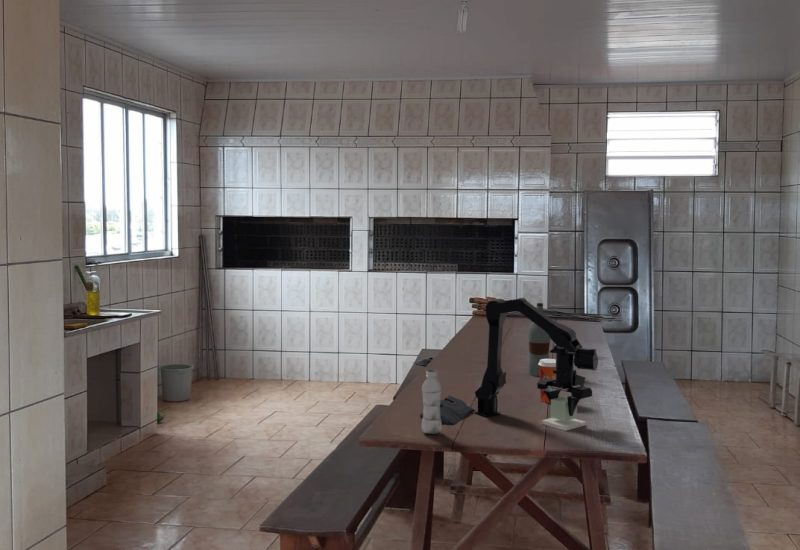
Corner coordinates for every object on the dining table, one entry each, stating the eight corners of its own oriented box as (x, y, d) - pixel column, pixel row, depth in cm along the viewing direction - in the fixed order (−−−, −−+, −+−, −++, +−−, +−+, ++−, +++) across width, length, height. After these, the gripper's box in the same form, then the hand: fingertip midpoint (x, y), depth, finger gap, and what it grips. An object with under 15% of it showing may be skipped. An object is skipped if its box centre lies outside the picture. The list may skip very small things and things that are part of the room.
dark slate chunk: (411, 421, 273) (411, 407, 272) (438, 406, 292) (438, 393, 292) (454, 427, 266) (454, 413, 265) (478, 411, 286) (478, 398, 285)
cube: (564, 421, 263) (565, 403, 263) (550, 417, 268) (550, 399, 267) (576, 418, 267) (577, 400, 266) (562, 414, 272) (562, 396, 271)
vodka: (553, 373, 343) (554, 302, 340) (545, 377, 336) (546, 305, 333) (532, 370, 348) (533, 301, 345) (523, 374, 341) (525, 303, 338)
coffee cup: (543, 404, 293) (544, 363, 291) (533, 399, 301) (534, 359, 299) (564, 403, 295) (565, 362, 294) (554, 397, 303) (555, 357, 301)
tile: (565, 430, 261) (565, 427, 260) (541, 423, 268) (541, 420, 268) (585, 425, 267) (585, 421, 267) (561, 418, 275) (561, 415, 274)
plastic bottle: (440, 430, 261) (441, 368, 259) (442, 436, 254) (443, 373, 252) (420, 430, 261) (421, 368, 259) (422, 436, 254) (422, 373, 252)
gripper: (603, 368, 264) (602, 415, 265) (558, 359, 278) (557, 404, 279) (581, 373, 257) (580, 421, 258) (536, 363, 271) (535, 409, 272)
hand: (563, 413), depth 267 cm, fingers closed on cube, 6 cm apart
